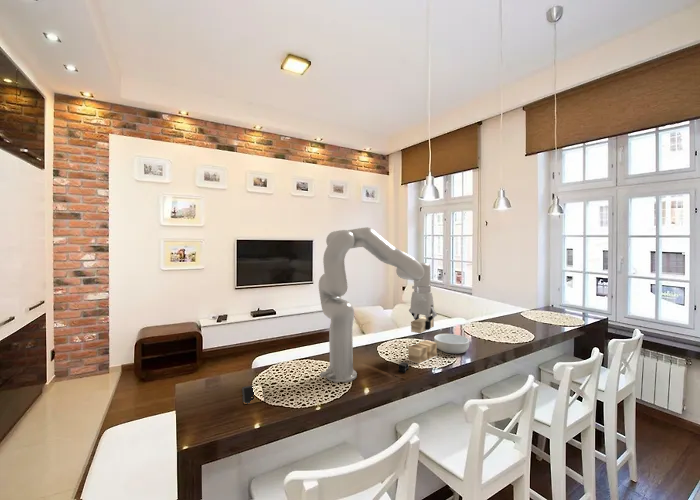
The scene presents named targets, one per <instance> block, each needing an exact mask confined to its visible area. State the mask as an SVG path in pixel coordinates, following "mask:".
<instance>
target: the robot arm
mask: <svg viewBox="0 0 700 500" xmlns="http://www.w3.org/2000/svg"><path fill="white" fill-rule="evenodd" d="M325 242H326V248H325V251H324V254H323V258H322V260H323V261H322V263H323V264H322V265H323V272H324V273H323V274H322V275H321V276H320V277H319V281H318V291H319V292H318V293H319V298H320V299H319V300H320V305H321V310H322V312H323V314H324V315H325V316H326V317H327V318H328V319H330V323H329V324H330V325H329V332H328V335H329V337H328V339H329V340H328V342H329V343H328V345H329V366H327V369H326V370H325V371H322V372H319V373H320V374H319V375H320V377H321V378H325V377H326V379H327V380H328V381H330V380H331V381H330V382H332V381H333V382H332V383H337V382H345V383H349V381H350V382H351V381H354V380H355V379H356V378H357V376H358V375H357V374H358V373H357V371H356V370H355V369H354V363H353V362H354V360H353V359H354V356H353V355H354V354H353V353H354V352H353V351H354V350H353V349H354V348H353V347H354V345H353V338H354V337H353V327H354V317H355V309H354V307H353V305H352V303H351V302H349V301H347V300H345V299H344V298H342V297H343V296H345V295H346V294H347V292H348V280H347V273H346V272H347V271H346V265H345V264H346V263H345V259H346V255H347V253H348V252H349V250H350V249H357V248H364V250H367V252H369V253H370V254H371V255H373V256H374V257H375V258H376V259H378V261H380V262H382V263H384V264H387V265H390V266H392V267H393V266H394V267H395V268H396V270H395V271H396V275H397V277H398V278H400V279H403V280H409V281H413V285H412V289H413V291H412V293H411V299H410V308H409V309H408V311H409V313H410V315H411V316H412V317H413V319H414V320H417V319H419V318H420V315H421V316H425V317H426V322H425V328H426V331H429V330H431V329H432V328H431V321H432V319H433V318H436V317H437V316H438V313H437V312H436V310H435V308H434V307H435V306H434V305H435V303H434V297H433V292H431V290H432V289H431V264H430V263H428V262H419V260H416V258H414V257H413V256H411V255H410V254H408V253H406V252H405V251H403V250H401V249H400V248H397V247H396V246H394V245H392V244H391V243H390V242H389V241H388V240H386V239H385V238H384V237H383V236H382V235H381V234H379V233H378V232H377V231H376V230H375V229H373V228H371V227H361V228H360V227H359V228H353V229H340V230H333V231H331V232H330V233H328V235H327V237H326V239H325Z"/></svg>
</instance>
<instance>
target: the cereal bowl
mask: <svg viewBox="0 0 700 500" xmlns="http://www.w3.org/2000/svg"><path fill="white" fill-rule="evenodd" d="M433 337H434V338H433V342H435V343H437V349H438V350H439V351H441V352H442V353H445V354H455V355H457V354H463V353H466V352H467V351H468V350H469V347H470V339H469V338H468V337H466V336H464V335H460V334H454V333H439V334H436V335H435V336H433Z"/></svg>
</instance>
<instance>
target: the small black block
mask: <svg viewBox="0 0 700 500" xmlns="http://www.w3.org/2000/svg"><path fill="white" fill-rule="evenodd" d="M397 368H398V373H401V374H406V370H409V362H406V361H405V362H404V361H401V362H400V363H399V364H398V367H397Z"/></svg>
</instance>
